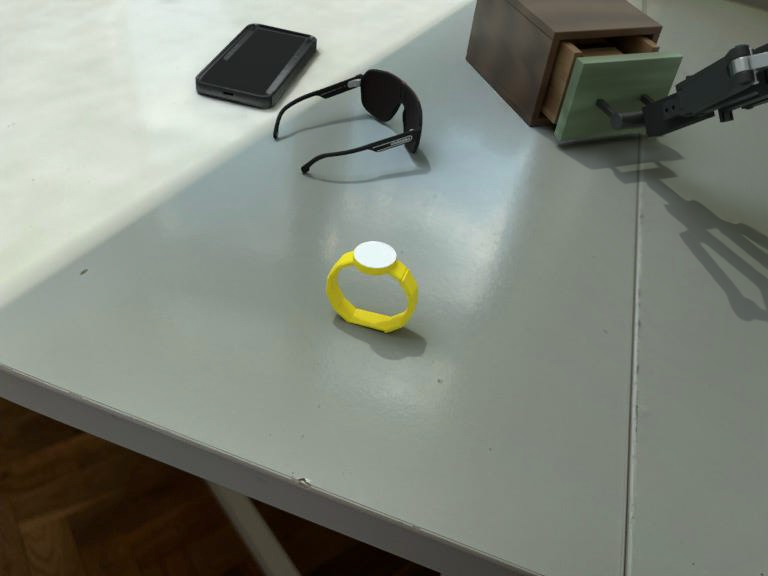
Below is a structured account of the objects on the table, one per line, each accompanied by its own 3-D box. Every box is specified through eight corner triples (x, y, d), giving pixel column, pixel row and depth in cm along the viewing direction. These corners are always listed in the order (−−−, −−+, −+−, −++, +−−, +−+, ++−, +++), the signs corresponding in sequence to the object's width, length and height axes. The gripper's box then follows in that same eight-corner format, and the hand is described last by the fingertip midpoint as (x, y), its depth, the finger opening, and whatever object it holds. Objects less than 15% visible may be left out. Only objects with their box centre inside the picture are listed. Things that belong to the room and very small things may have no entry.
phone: (319, 36, 83) (270, 98, 72) (319, 47, 84) (270, 109, 73) (249, 21, 84) (190, 80, 73) (249, 31, 85) (190, 91, 73)
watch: (415, 321, 54) (429, 254, 50) (404, 348, 52) (417, 280, 48) (333, 296, 55) (340, 229, 51) (319, 322, 53) (325, 253, 49)
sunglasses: (435, 159, 70) (438, 110, 66) (315, 202, 65) (311, 152, 62) (376, 103, 76) (376, 56, 72) (263, 138, 72) (257, 90, 68)
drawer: (681, 154, 74) (713, 78, 69) (584, 166, 70) (611, 87, 65) (581, 67, 86) (602, -3, 81) (494, 74, 82) (510, 0, 77)
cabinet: (630, 116, 81) (663, 26, 74) (529, 126, 76) (554, 32, 70) (558, 52, 90) (581, -32, 84) (465, 58, 86) (482, -30, 80)
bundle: (617, 110, 77) (634, 60, 73) (577, 114, 75) (593, 63, 72) (579, 76, 81) (594, 28, 78) (541, 80, 80) (554, 31, 76)
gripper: (972, -46, 49) (701, 74, 71) (821, -43, 45) (581, 85, 67) (994, 71, 49) (716, 155, 71) (844, 87, 45) (597, 171, 67)
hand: (651, 121), depth 69 cm, fingers closed
